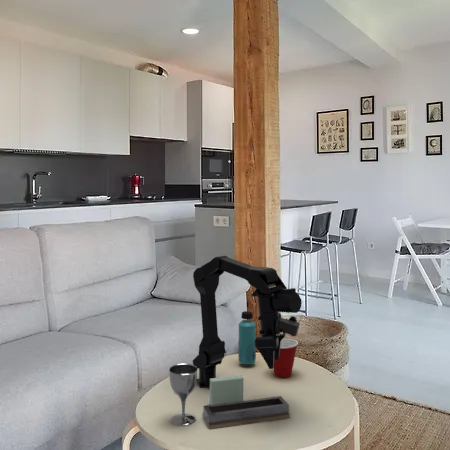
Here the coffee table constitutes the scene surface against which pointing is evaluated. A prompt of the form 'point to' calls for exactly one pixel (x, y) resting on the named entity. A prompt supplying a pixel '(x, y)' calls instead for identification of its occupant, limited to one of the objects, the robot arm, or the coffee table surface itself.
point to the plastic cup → (285, 358)
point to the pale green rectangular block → (226, 389)
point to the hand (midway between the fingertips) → (274, 364)
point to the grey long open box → (245, 412)
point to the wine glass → (183, 389)
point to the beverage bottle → (247, 339)
